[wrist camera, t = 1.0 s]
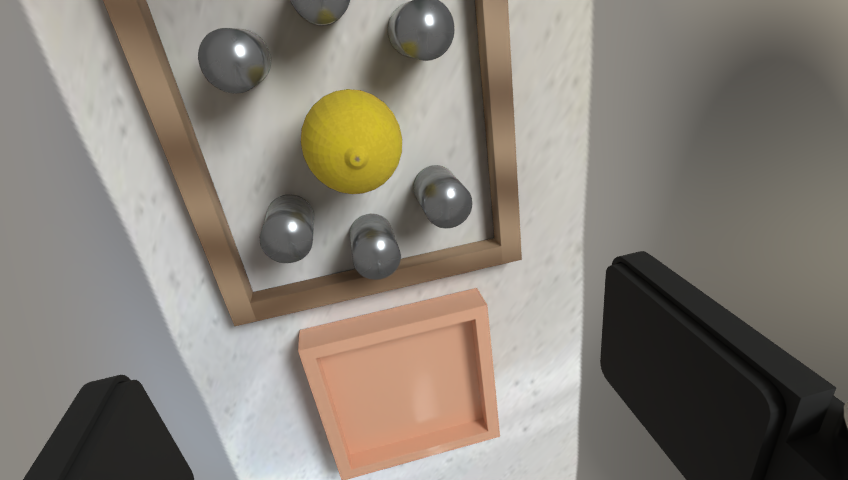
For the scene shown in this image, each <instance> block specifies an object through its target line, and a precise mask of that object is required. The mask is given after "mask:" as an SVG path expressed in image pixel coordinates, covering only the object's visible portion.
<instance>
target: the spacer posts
mask: <svg viewBox="0 0 848 480" xmlns="http://www.w3.org/2000/svg"><path fill="white" fill-rule="evenodd" d="M349 2H350V0H291V3H292V5H293V6H294V8H295V9H296V11H297V12H298V13H299V14H300V15H301V16H302V17H304V18H305V19H306V20H307V21H309V22H311V23H313V24H317V25H328V24H331V23H333V22H335V21H336V20H338V19H339V18H340V17H341V16H342V15H343V14H344V13H345V11H346V10H347V8H348V5H349ZM388 34H389V38H390V41H391V43H392V45H393V47H394V48H395V49H396V50H397V51H398V52H399V53H401V54H403V55H405V56H408V57H412V58H415V59H419V60H425V61H428V60H433V59H436V58H438V57H440V56H441V55H443V54H444V53H445V52H446V51H447V50H448V48H449V47H450V45H451V43H452V40H453V37H454V21H453V18H452V15H451V13H450V11H449V10H448V8H447V7H446V6H445V5H444V4H443V3H442V2H440V1H439V0H413V1H410V2H407V3H404V4H402V5H400V6H399V7H398V8H397V9H396V10H395V11H394V12H393V13H392V15H391V17H390V20H389V24H388ZM198 60H199V65H200V68H201V70H202V72H203V74H204V76H205V77H206V78H207V80H208V81H209V82H210V83H211V84H212V85H214V86H215V87H217V88H218V89H220V90H223V91H225V92H229V93H242V92H246V91H248V90H250V89H252V88H253V87H254V86H255V85H257V84H258V83H259V82H260V81H262V80H263V79H264V78H265V77H266V76H267V74H268V72H269V70H270V66H271V56H270V52H269V49H268V47H267V45H266V44H265V42H264V41H263V40H262V39H261V38H260V37H259V36H258V35H256V34H255V33H253V32H251V31H249V30H245V29H232V28H221V29H217V30H214V31H212V32H210V33H209V34H208V35H206V37H205V38H204V39H203V40H202V42H201V44H200V47H199V52H198ZM414 194H415V196H416V198H417V200H418V201H419V203H420V205H421V207H422V208H423V210H424V212H425V214H426V215H427V217H428V219H429V220H430V221H431V222H432V223H433V224H434V225H436V226H438V227H440V228H453V227H456V226H458V225H460V224H461V223H463V222H464V221H465V220H466V219H467V217H468V216H469V214H470V212H471V209H472V198H471V195H470V193H469V191H468V190H467V189H466V188H465V187H464V186H463V185H462V184H461V182H460V181H459V180H458V179H457V178H456V177H455V176H454V175H453V174H452V173H451V172H450V171H449V170H448V169H447V168H445V167H443V166H438V165H434V166H429V167H427V168H425V169H423V170H422V171H421V172H420V173H419V174H418V175H417V177H416V179H415V181H414ZM313 220H314V214H313V210H312V208H311V206H310V205H309V203H308V202H307V201H306V200H304V199H303V198H301V197H298V196H295V195H284V196H281V197H278V198H277V199H275V200H274V201H273V202H272V203H271V204H270V206H269V208H268V211H267V214H266V218H265V221H264V224H263V227H262V231H261V234H260V244H261V247H262V250H263V251H264V253H265V254H266V255H267V256H268V257H270V258H271V259H273V260H275V261H277V262H281V263H293V262H297V261H299V260H301V259H303V258H304V257H305V256H306V255H307V254H308V253H309V251H310V250H311V247H312V242H313ZM350 241H351V248H352V256H353V263H354V266H355V268H356V270H357V272H358V273H359V274H361V275H362V276H363V277H365V278H368V279H373V280H378V279H383V278H386V277H388V276H390V275H391V274H393V273H394V272H395V271H396V269H397V268H398V266H399V264H400V260H401V254H400V250H399V247H398V245H397V242H396V239H395V236H394V233H393V231H392V228H391V225H390V223H389V222H388V221H387V220H386V219H385V218H384V217H382V216H380V215H377V214H366V215H363V216H361V217H359V218H358V219H357V220H356V221H355V222H354V223H353V224H352V226H351V229H350Z"/></svg>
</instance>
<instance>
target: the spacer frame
mask: <svg viewBox="0 0 848 480" xmlns="http://www.w3.org/2000/svg"><path fill="white" fill-rule="evenodd" d="M103 2H104V4H105V7H106V9H107V11H108V14H109V16H110V19H111V21H112V24H113V26H114V29H115V31H116V34H117V36H118V39H119V41H120V44H121V46H122V49H123V51H124V54H125V56H126V59H127V61H128V63H129V66H130V68H131V71H132V73H133V76H134V78H135V81H136V83H137V86H138V88H139V91H140V93H141V96H142V98H143V101H144V103H145V106H146V108H147V111H148V113H149V115H150V118H151V120H152V123H153V125H154V128H155V130H156V133H157V135H158V138H159V140H160V143H161V145H162V148H163V150H164V153H165V155H166V158H167V160H168V163H169V165H170V167H171V170H172V172H173V175H174V177H175V180H176V182H177V185H178V187H179V190H180V192H181V195H182V197H183V200H184V202H185V205H186V207H187V210H188V212H189V214H190V217H191V219H192V222H193V224H194V227H195V229H196V232H197V234H198V237H199V239H200V242H201V244H202V247H203V249H204V252H205V254H206V257H207V259H208V262H209V264H210V266H211V269H212V271H213V274H214V276H215V279H216V281H217V284H218V286H219V289H220V291H221V294H222V296H223V299H224V301H225V304H226V306H227V309H228V311H229V314H230V316H231V318H232V321H233V323H234V326H239V325H243V324H247V323H251V322H256V321H260V320H264V319H269V318H273V317H277V316H282V315H286V314H290V313H294V312H299V311H303V310H307V309H312V308H316V307H320V306H324V305H329V304H333V303H337V302H342V301H346V300H350V299H355V298H359V297H363V296H367V295H372V294H376V293H380V292H385V291H389V290H393V289H398V288H402V287H406V286H410V285H415V284H419V283H423V282H428V281H432V280H436V279H441V278H445V277H449V276H453V275H458V274H462V273H466V272H471V271H475V270H479V269H483V268H488V267H492V266H496V265H501V264H505V263H509V262H514V261H518V260H522V255H521V237H520V218H519V199H518V181H517V162H516V143H515V125H514V106H513V87H512V69H511V50H510V31H509V13H508V0H475V9H476V21H477V33H478V45H479V58H480V70H481V82H482V94H483V106H484V118H485V131H486V143H487V155H488V167H489V179H490V191H491V204H492V216H493V228H494V238H492V239H487V240H483V241H478V242H474V243H469V244H465V245H460V246H456V247H452V248H447V249H443V250H438V251H434V252H429V253H425V254H420V255H416V256H412V257H407V258H403V259H401V260H400V264H399V266H398V268H397V269H396V271H395V272H394V273H393V274H391V275H390V276H388V277H386V278H383V279H378V280H373V279H368V278H365V277H363V276H362V275H361V274H359V273H358V272H357V270H356V269H354V270H349V271H345V272H340V273H336V274H331V275H327V276H323V277H318V278H314V279H309V280H305V281H300V282H296V283H291V284H287V285H283V286H278V287H274V288H269V289H265V290H260V291H256V292H253V291H252V288H251V285H250V283H249V280H248V277H247V274H246V272H245V269H244V266H243V263H242V261H241V258H240V255H239V253H238V250H237V247H236V244H235V242H234V239H233V236H232V233H231V231H230V228H229V225H228V223H227V220H226V217H225V214H224V212H223V209H222V206H221V203H220V201H219V198H218V195H217V193H216V190H215V187H214V184H213V182H212V179H211V176H210V173H209V171H208V168H207V165H206V163H205V160H204V157H203V154H202V152H201V149H200V146H199V143H198V141H197V138H196V135H195V133H194V130H193V127H192V124H191V122H190V119H189V116H188V113H187V111H186V108H185V105H184V103H183V100H182V97H181V94H180V92H179V89H178V86H177V83H176V81H175V78H174V75H173V73H172V70H171V67H170V64H169V62H168V59H167V56H166V53H165V51H164V48H163V45H162V43H161V40H160V37H159V34H158V32H157V29H156V26H155V23H154V21H153V18H152V15H151V13H150V10H149V7H148V4H147V2H146V0H103Z"/></svg>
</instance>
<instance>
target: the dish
mask: <svg viewBox="0 0 848 480" xmlns="http://www.w3.org/2000/svg"><path fill="white" fill-rule="evenodd" d="M298 352H299V355H300V358H301V361H302V364H303V367H304V370H305V373H306V376H307V379H308V382H309V385H310V388H311V391H312V394H313V397H314V399H315V402H316V405H317V408H318V411H319V414H320V417H321V420H322V423H323V426H324V429H325V432H326V435H327V438H328V441H329V444H330V447H331V450H332V453H333V456H334V459H335V462H336V465H337V468H338V471H339V474H340V477H341V479H342V480H347V479H350V478H354V477H358V476H361V475H365V474H368V473H372V472H375V471H379V470H382V469H386V468H390V467H393V466H397V465H400V464H404V463H407V462H411V461H414V460H418V459H422V458H425V457H429V456H432V455H436V454H439V453H443V452H446V451H450V450H454V449H457V448H461V447H464V446H468V445H471V444H475V443H478V442H482V441H486V440H489V439H493V438H496V437H500V431H499V421H498V411H497V400H496V390H495V380H494V369H493V359H492V349H491V338H490V328H489V318H488V307H487V304H486V302H485V300H484V299H483V297H482V296H481V294H480V292H479V291H478V289H477V288H475V289H471V290H467V291H463V292H458V293H454V294H450V295H446V296H441V297H437V298H433V299H429V300H425V301H420V302H416V303H412V304H408V305H404V306H399V307H395V308H391V309H387V310H383V311H378V312H374V313H370V314H366V315H362V316H357V317H353V318H349V319H345V320H341V321H336V322H332V323H328V324H324V325H320V326H315V327H311V328H307V329H303V330H300V332H299V346H298Z"/></svg>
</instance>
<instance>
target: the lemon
mask: <svg viewBox="0 0 848 480" xmlns="http://www.w3.org/2000/svg"><path fill="white" fill-rule="evenodd" d="M301 146H302V151H303V156H304V158H305V160H306V163H307V165H308V167H309V169H310V170H311V171H312V173H313V174H314V175H315V176H316V177H317V179H318V180H320V181H321V182H322V183H324V184H325V185H326V186H328V187H329V188H332V189H334V190H336V191H339V192H342V193H348V194H360V193H366V192H369V191H372V190H375V189H376V188H378V187H379V186H381V185H383V184H384V183H385V182H386V181H387V180H388V179H389V178H390V177H391V176H392V174H393V173H394V171H395V169H396V168H397V166H398V164H399V160H400V157H401V153H402V136H401V131H400V127H399V124H398V122H397V120H396V118H395V116H394V114H393V112H392V111H391V110H390V109H389V108H388V107H387V105H386V104H385V103H384V102H382V101H381V100H379V99H378V98H377V97H375V96H374V95H372V94H369V93H366V92H364V91H361V90H350V89H346V90H340V91H335V92H333V93H330V94H328V95H326V96H324V97H322V98H321V99H320V100H319V101H318V102H317V103H315V104H314V105H313V107H312V108H311V110H310V111H309V112H308V114H307V115H306V118H305V121H304V124H303V127H302V132H301Z"/></svg>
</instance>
